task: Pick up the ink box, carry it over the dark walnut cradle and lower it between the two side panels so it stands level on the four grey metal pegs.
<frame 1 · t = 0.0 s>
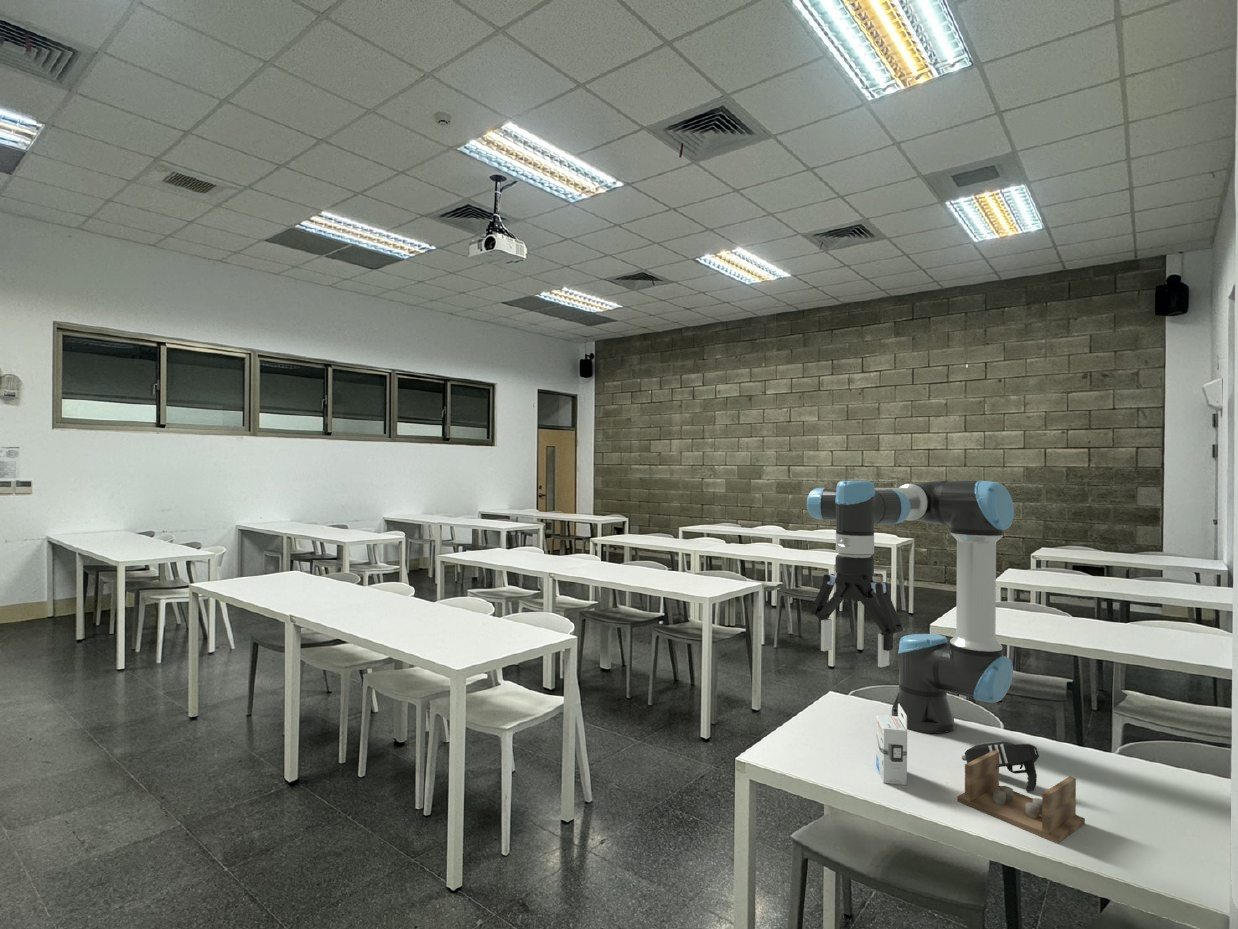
hand: (853, 657, 134), 28 cm above the table, fingers open, 13 cm apart
ink box: (891, 776, 142), on the table
gun: (995, 778, 141), on the table
peg cradle: (1019, 812, 127), on the table
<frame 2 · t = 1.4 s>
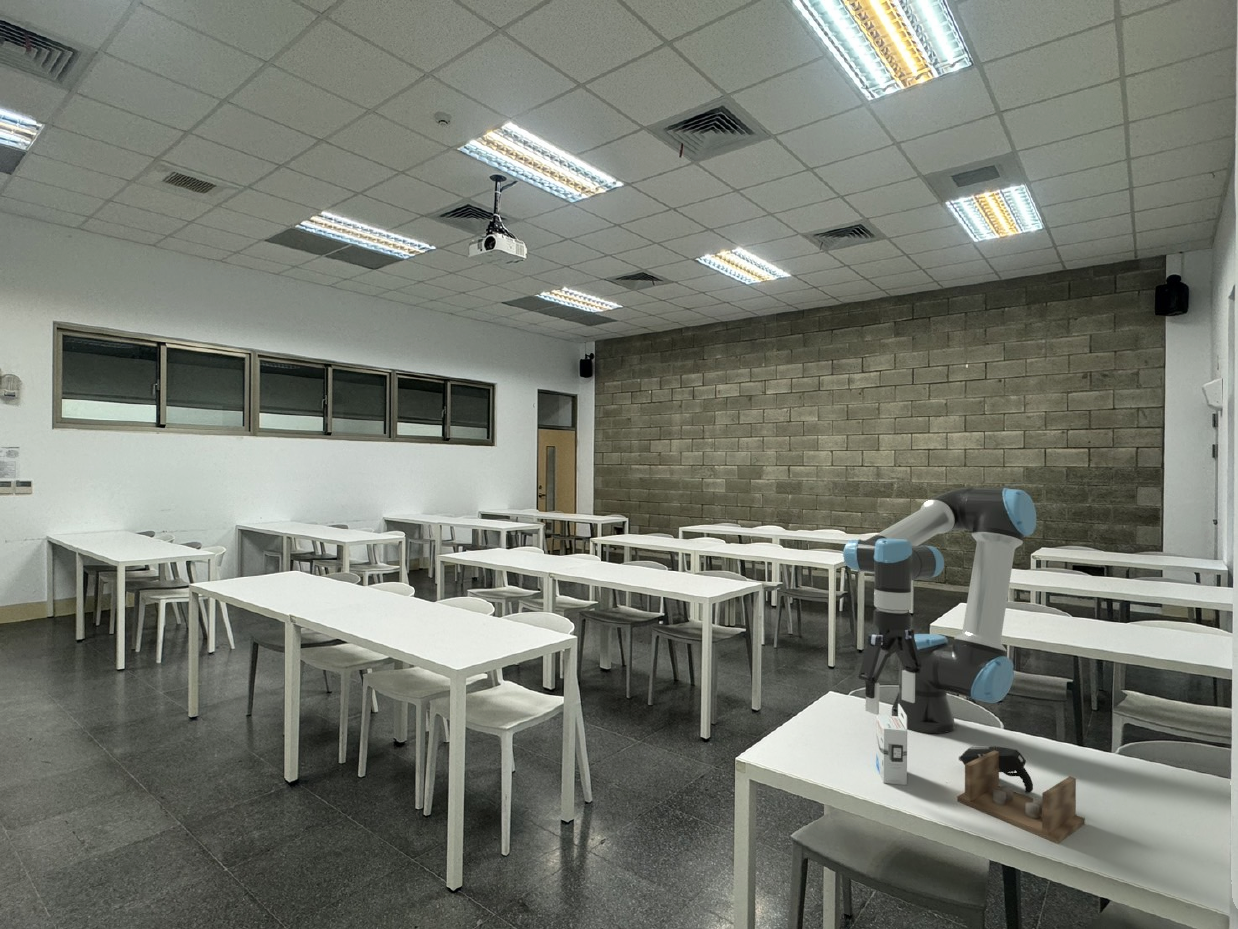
hand: (890, 706, 142), 15 cm above the table, fingers open, 13 cm apart
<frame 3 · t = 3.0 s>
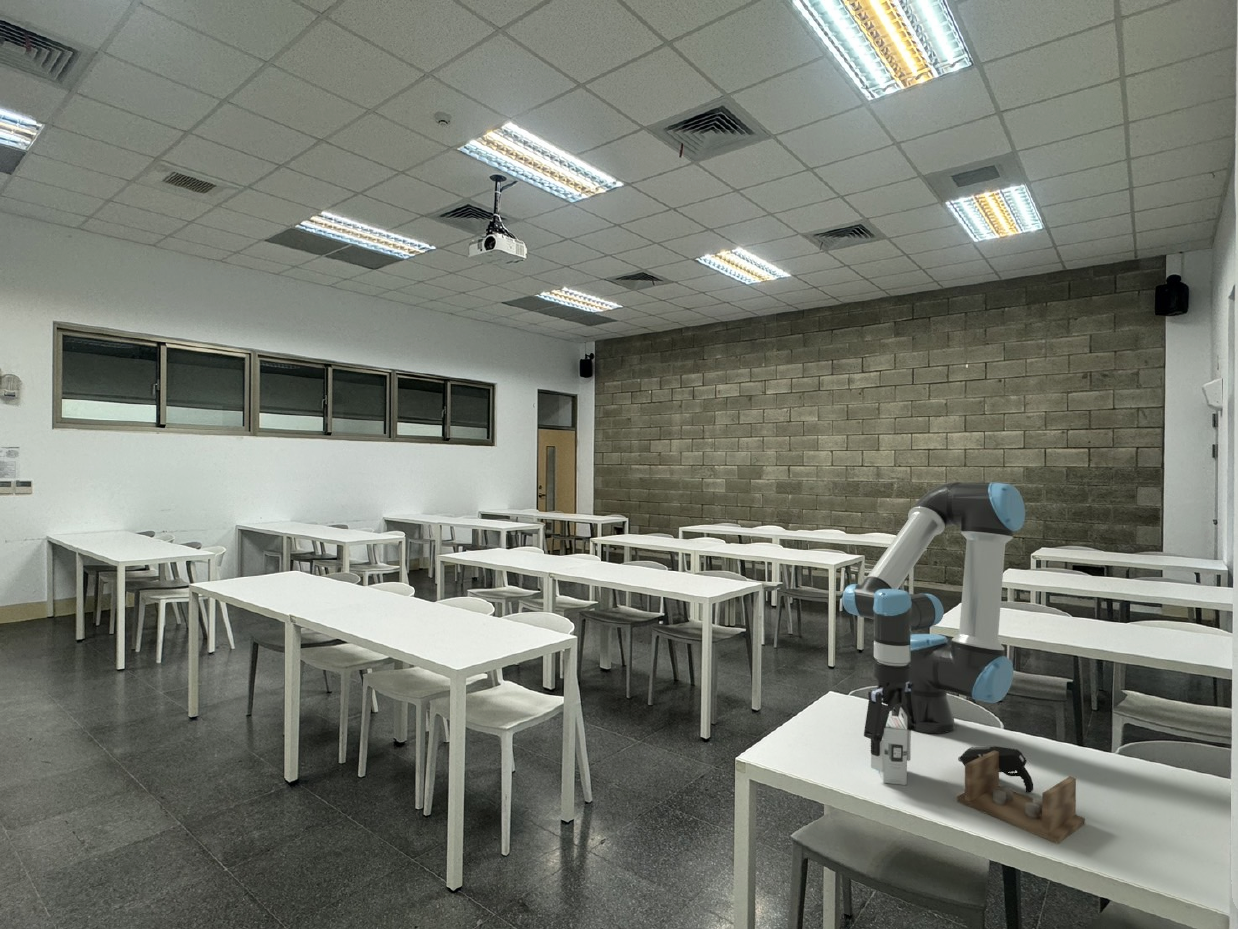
hand: (891, 763, 142), 3 cm above the table, fingers closed on ink box, 9 cm apart
ink box: (890, 776, 142), on the table, touching gripper
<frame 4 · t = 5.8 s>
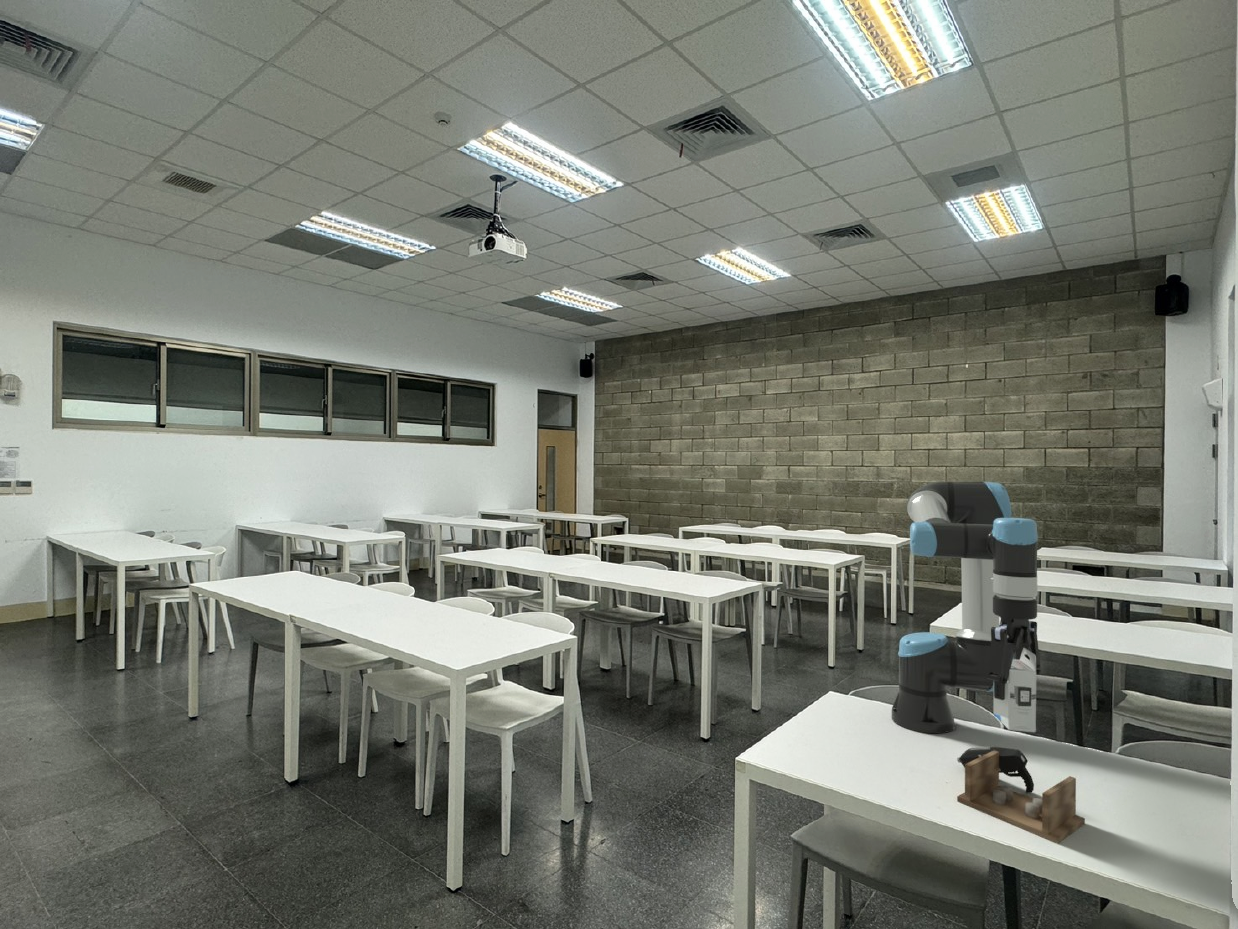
hand: (1014, 710, 128), 20 cm above the table, fingers closed on ink box, 9 cm apart
ink box: (1014, 724, 128), point 17 cm above the table, touching gripper
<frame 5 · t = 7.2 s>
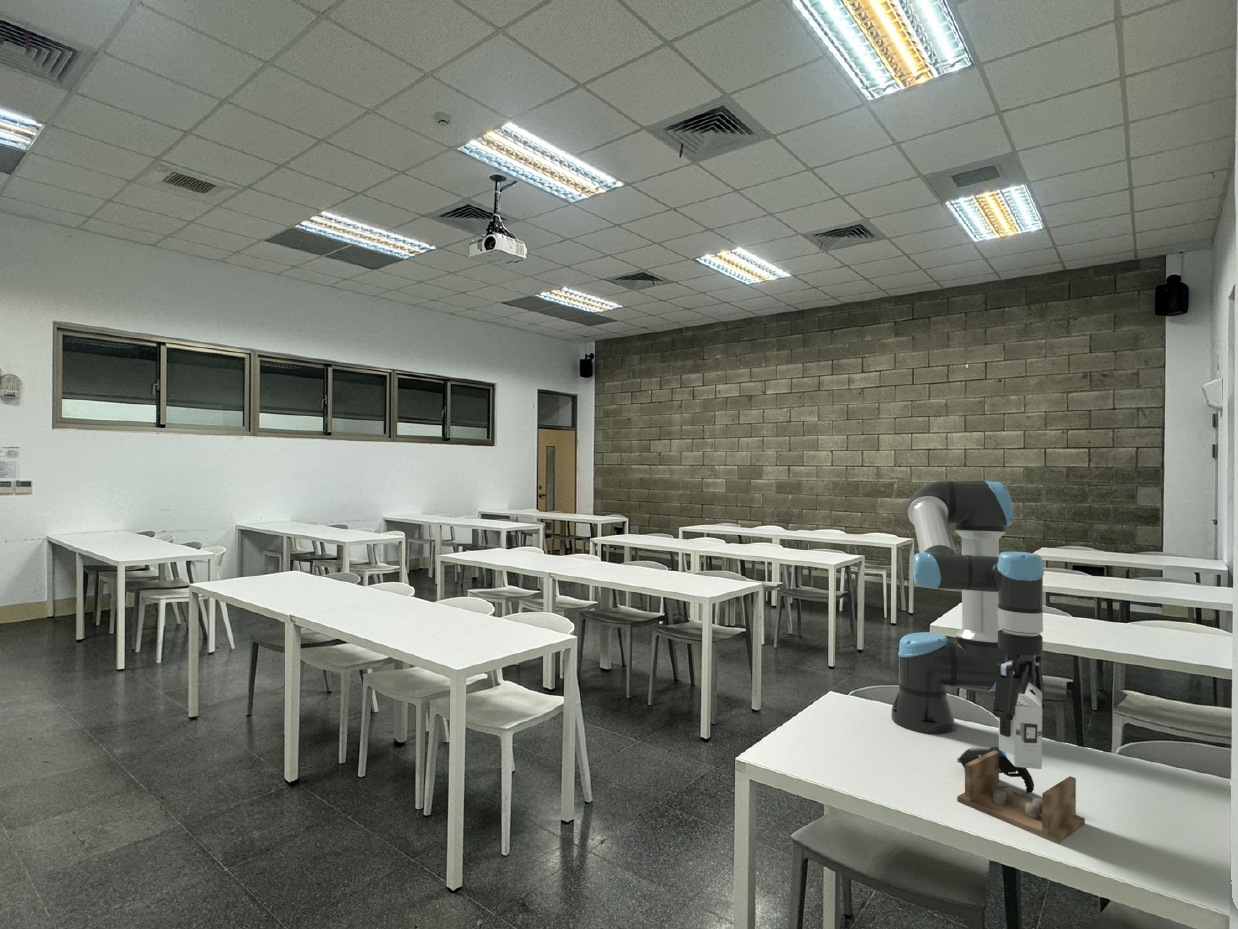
hand: (1019, 746, 127), 13 cm above the table, fingers closed on ink box, 9 cm apart
ink box: (1019, 760, 127), point 10 cm above the table, touching gripper
when the fingers open (7 cm above the table, at t = 8.8 s): ink box stays where it is, point 3 cm above the table.
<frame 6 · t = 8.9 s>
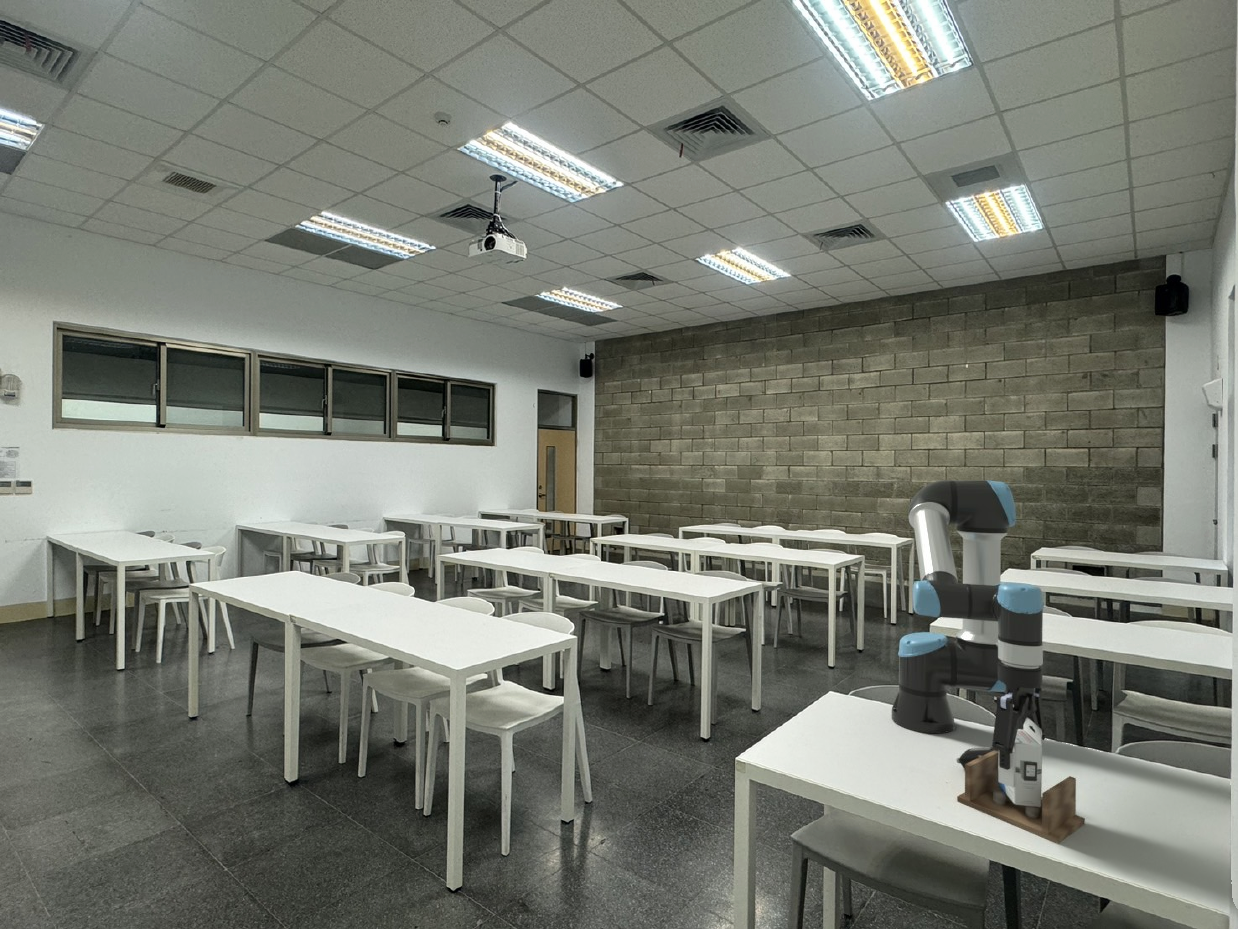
hand: (1019, 777, 127), 7 cm above the table, fingers open, 9 cm apart
ink box: (1018, 796, 127), point 3 cm above the table
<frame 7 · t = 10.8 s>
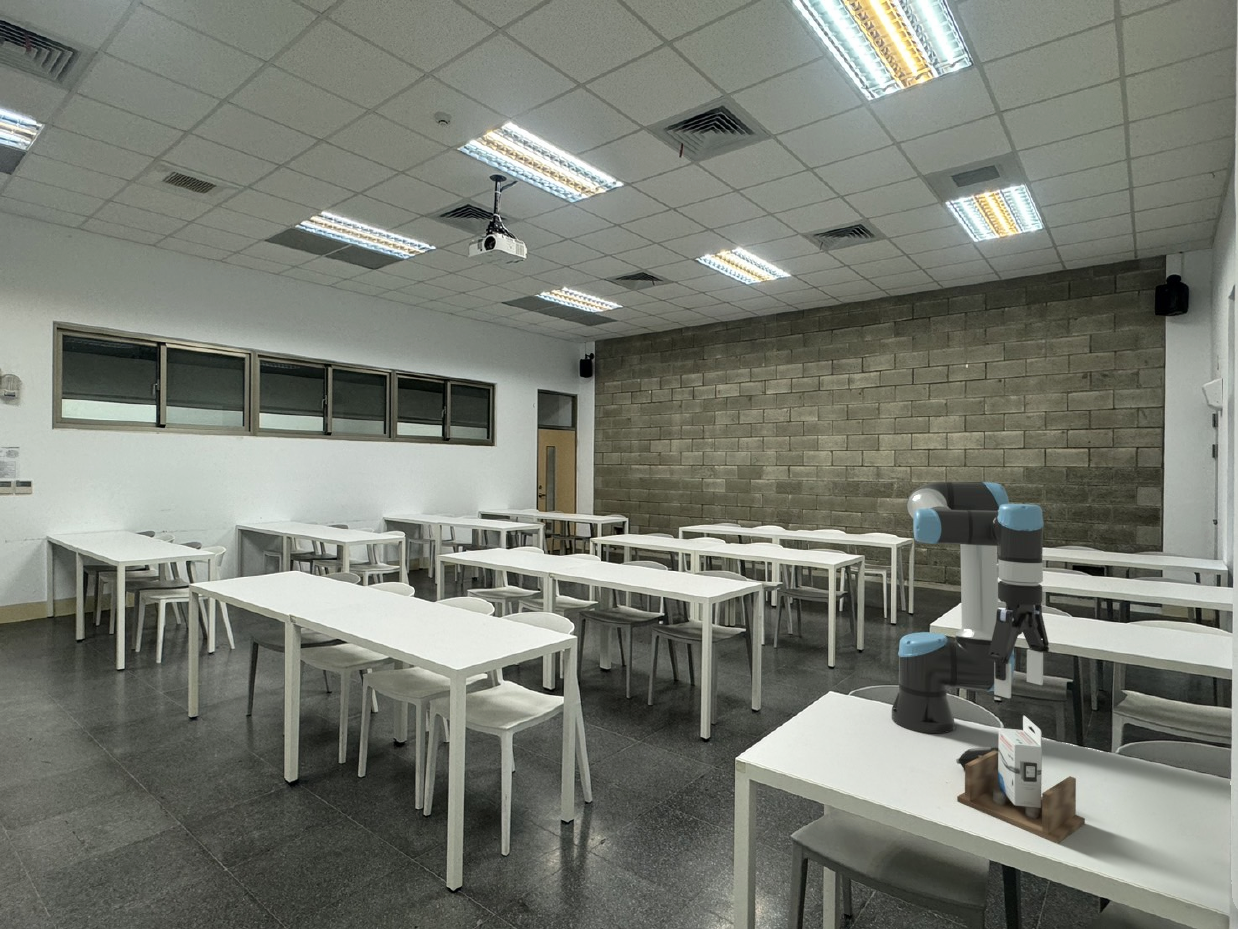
hand: (1019, 689, 128), 24 cm above the table, fingers open, 13 cm apart
ink box: (1018, 797, 127), point 3 cm above the table, touching peg cradle
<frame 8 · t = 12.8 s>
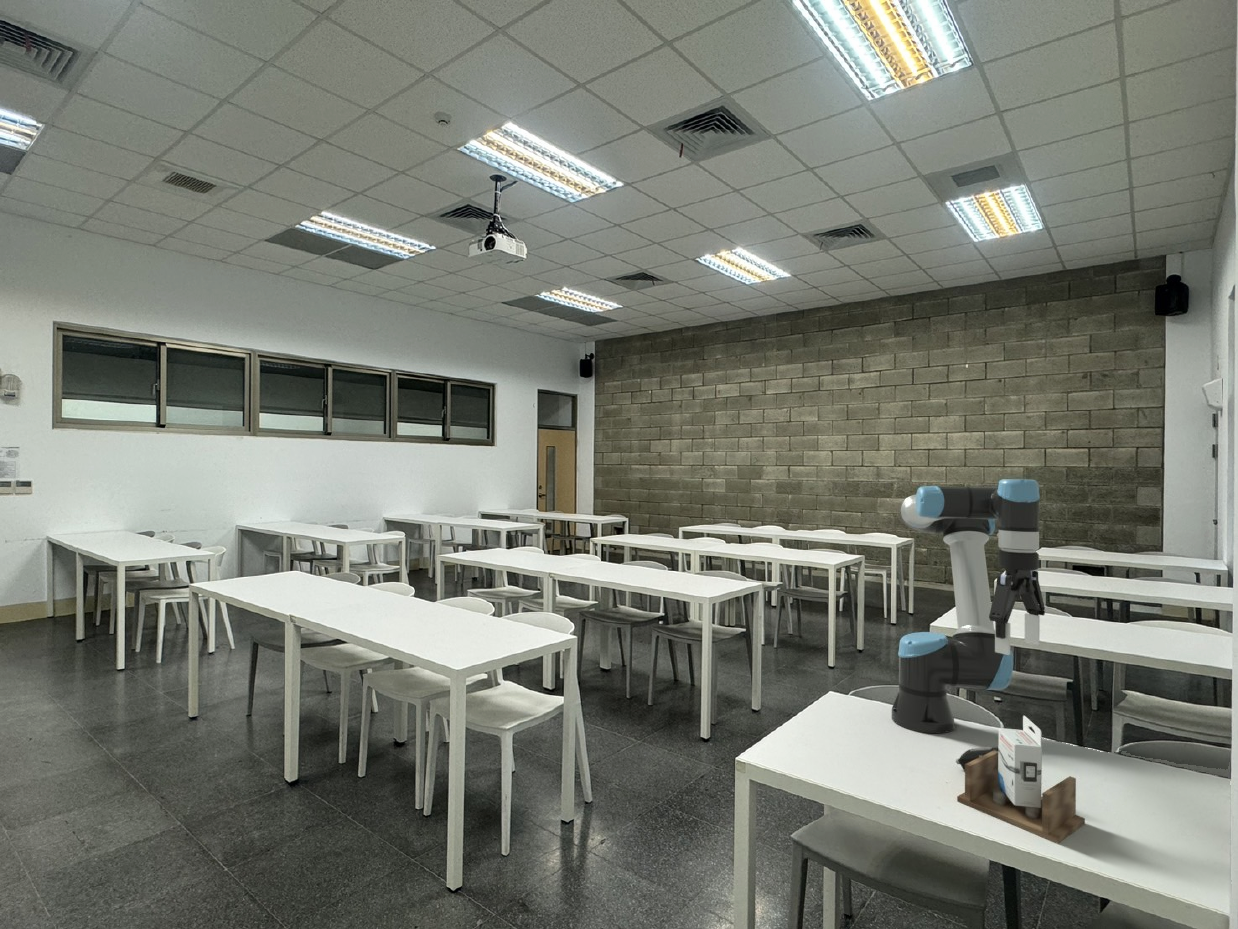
hand: (1017, 648, 140), 29 cm above the table, fingers open, 13 cm apart
at the end: ink box 0.1 cm from the peg cradle (horizontally); ink box tilted 0°; the gripper is holding nothing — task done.
